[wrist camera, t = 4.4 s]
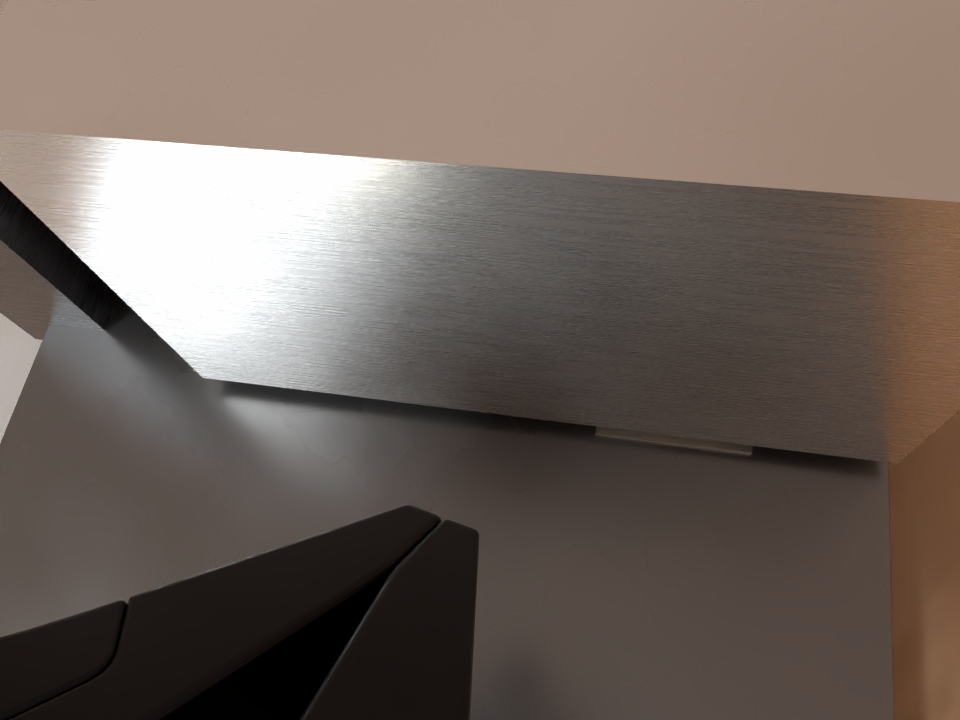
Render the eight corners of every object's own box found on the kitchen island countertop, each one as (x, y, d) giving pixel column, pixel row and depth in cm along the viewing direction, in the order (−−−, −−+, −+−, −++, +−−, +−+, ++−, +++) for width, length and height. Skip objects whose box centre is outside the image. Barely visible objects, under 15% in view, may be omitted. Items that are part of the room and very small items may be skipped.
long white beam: (897, 463, 15) (1179, 219, 8) (90, 363, 18) (-235, 111, 11) (891, 231, 17) (1116, -131, 10) (163, 172, 20) (-71, -150, 13)
